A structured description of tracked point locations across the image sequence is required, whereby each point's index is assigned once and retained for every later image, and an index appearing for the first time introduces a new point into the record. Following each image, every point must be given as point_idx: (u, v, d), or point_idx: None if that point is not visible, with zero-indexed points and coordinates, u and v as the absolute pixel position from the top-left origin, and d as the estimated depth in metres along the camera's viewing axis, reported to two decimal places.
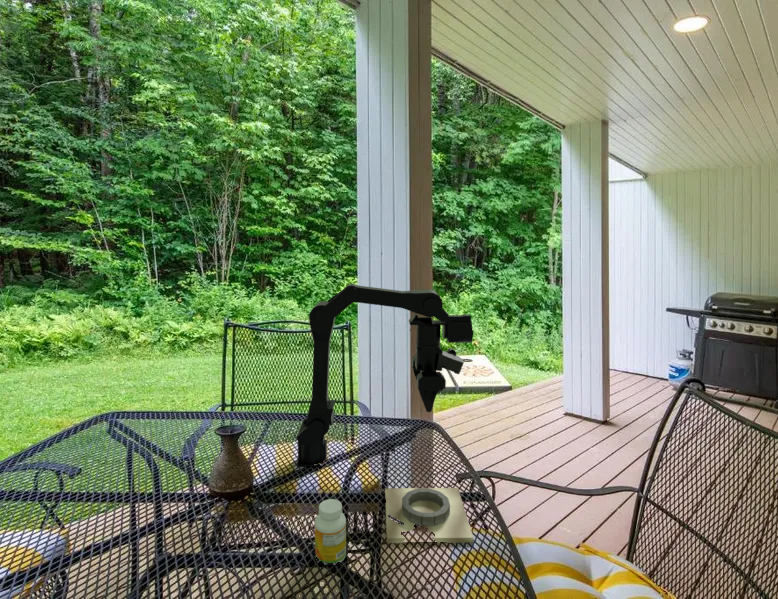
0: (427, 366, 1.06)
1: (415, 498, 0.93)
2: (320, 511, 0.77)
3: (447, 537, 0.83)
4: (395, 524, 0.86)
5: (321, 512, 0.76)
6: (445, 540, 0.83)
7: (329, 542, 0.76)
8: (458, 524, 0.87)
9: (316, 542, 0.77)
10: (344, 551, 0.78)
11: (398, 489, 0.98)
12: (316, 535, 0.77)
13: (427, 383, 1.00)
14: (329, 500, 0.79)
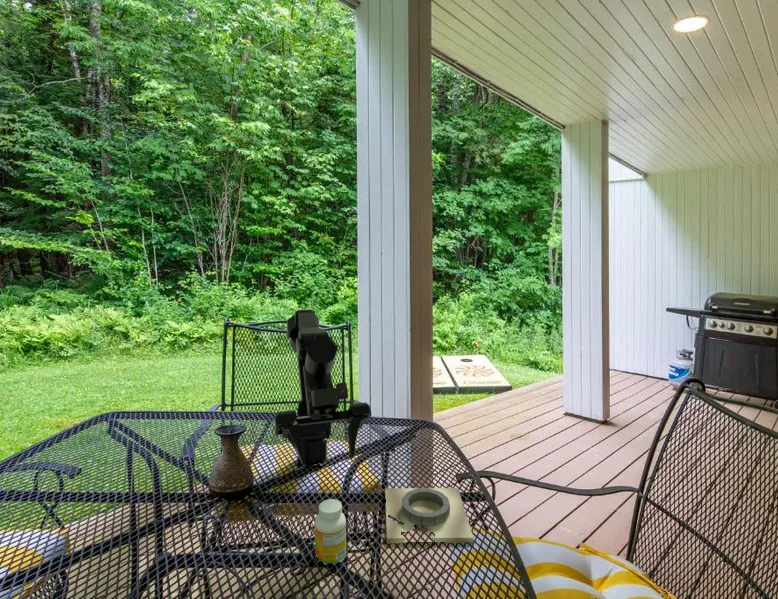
0: (307, 411, 0.90)
1: (415, 498, 0.93)
2: (320, 511, 0.77)
3: (447, 537, 0.83)
4: (395, 524, 0.86)
5: (321, 512, 0.76)
6: (445, 540, 0.83)
7: (329, 542, 0.76)
8: (458, 524, 0.87)
9: (316, 542, 0.77)
10: (344, 551, 0.78)
11: (398, 489, 0.98)
12: (316, 535, 0.77)
13: None
14: (329, 500, 0.79)
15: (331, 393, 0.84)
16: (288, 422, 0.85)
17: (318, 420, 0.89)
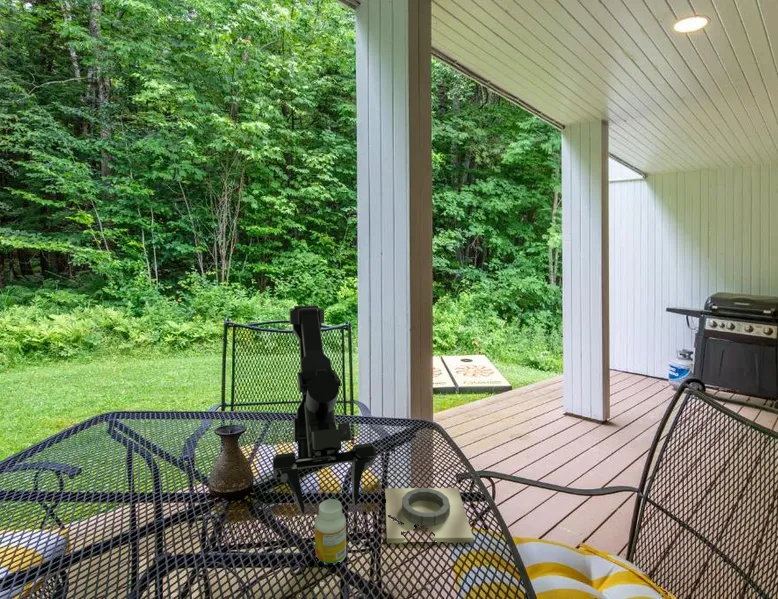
0: (308, 453, 0.84)
1: (415, 498, 0.93)
2: (320, 511, 0.77)
3: (447, 537, 0.83)
4: (395, 524, 0.86)
5: (321, 512, 0.76)
6: (445, 540, 0.83)
7: (329, 542, 0.76)
8: (458, 524, 0.87)
9: (316, 542, 0.77)
10: (344, 551, 0.78)
11: (398, 489, 0.98)
12: (316, 535, 0.77)
13: None
14: (329, 500, 0.79)
15: (332, 435, 0.78)
16: (286, 466, 0.79)
17: (319, 463, 0.83)
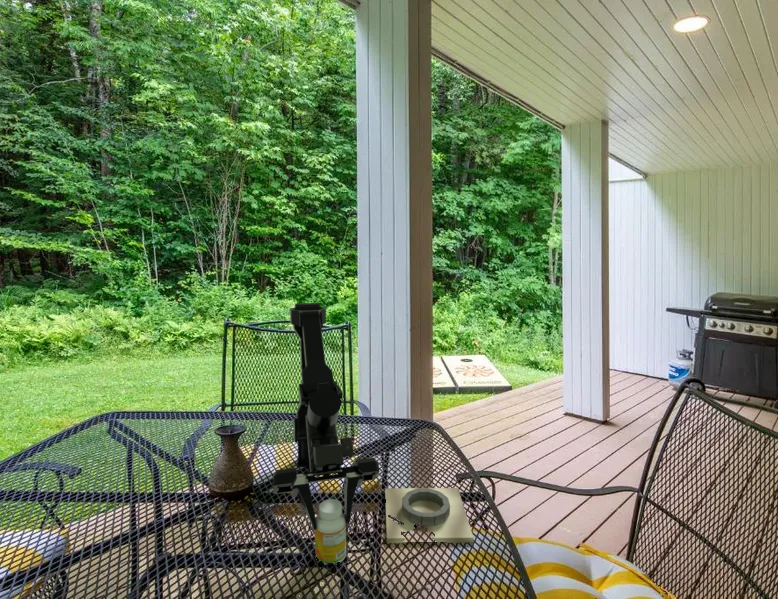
0: None
1: (415, 498, 0.93)
2: (320, 511, 0.77)
3: (447, 537, 0.83)
4: (395, 524, 0.86)
5: (321, 512, 0.76)
6: (445, 540, 0.83)
7: (329, 542, 0.76)
8: (458, 524, 0.87)
9: (316, 542, 0.77)
10: (344, 551, 0.78)
11: (398, 489, 0.98)
12: (316, 535, 0.77)
13: None
14: (329, 500, 0.79)
15: (334, 451, 0.76)
16: (287, 482, 0.77)
17: (321, 478, 0.81)
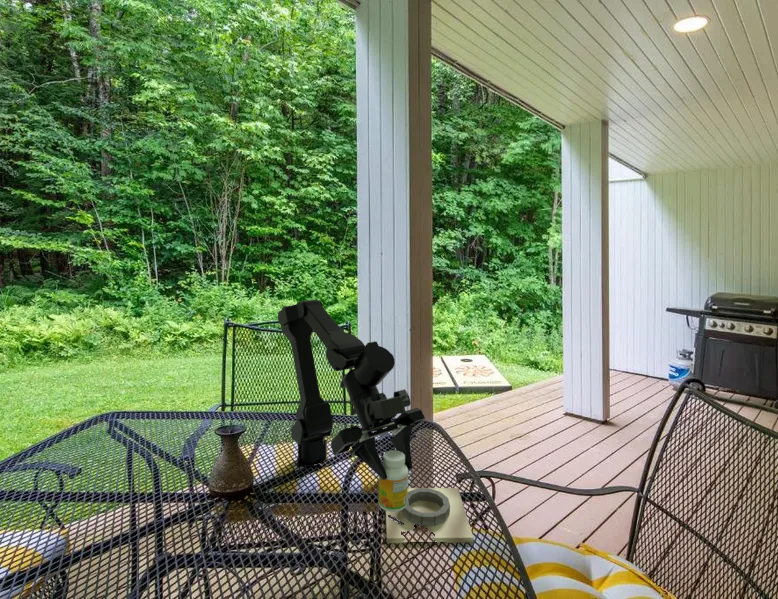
0: (362, 425, 0.85)
1: (415, 498, 0.93)
2: (388, 461, 0.80)
3: (447, 537, 0.83)
4: (395, 524, 0.86)
5: (390, 462, 0.80)
6: (445, 540, 0.83)
7: (399, 488, 0.80)
8: (458, 524, 0.87)
9: (384, 492, 0.81)
10: None
11: None
12: (384, 485, 0.81)
13: (334, 445, 0.81)
14: (389, 451, 0.83)
15: (398, 402, 0.81)
16: (356, 439, 0.79)
17: (377, 432, 0.84)
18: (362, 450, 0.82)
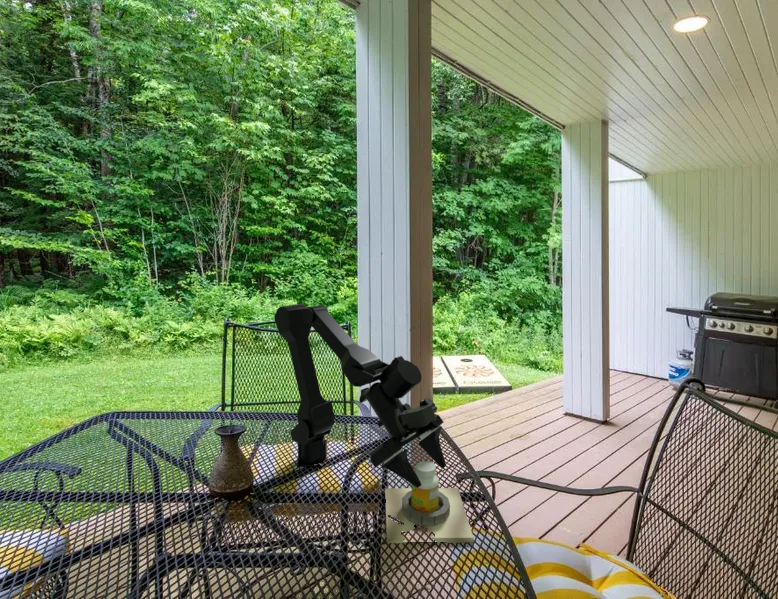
0: (393, 436, 0.90)
1: None
2: (423, 472, 0.87)
3: (447, 537, 0.83)
4: (395, 524, 0.86)
5: (425, 473, 0.87)
6: (445, 540, 0.83)
7: (434, 495, 0.88)
8: (458, 524, 0.87)
9: (420, 501, 0.88)
10: None
11: (398, 489, 0.98)
12: (421, 494, 0.87)
13: (375, 458, 0.85)
14: (419, 463, 0.90)
15: (430, 410, 0.88)
16: (398, 449, 0.84)
17: (407, 441, 0.90)
18: (393, 462, 0.86)
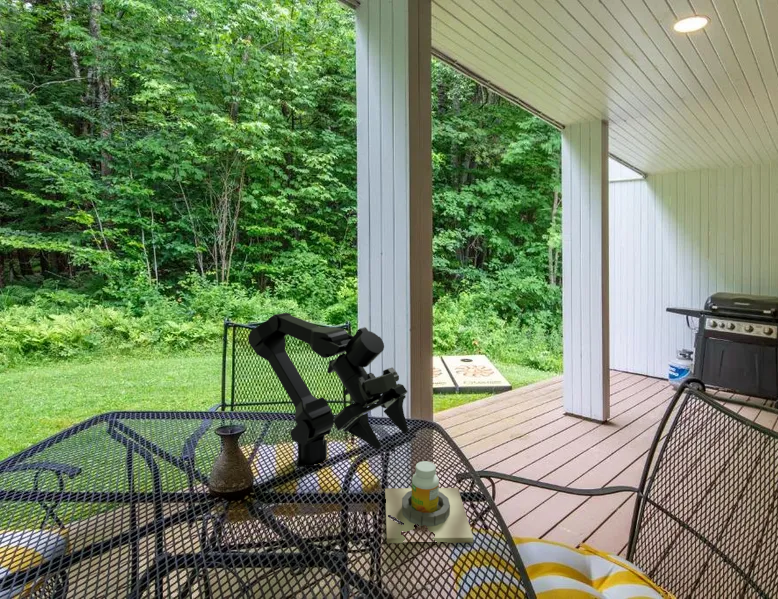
0: (357, 402, 0.95)
1: None
2: (423, 472, 0.87)
3: (447, 537, 0.83)
4: (395, 524, 0.86)
5: (425, 473, 0.87)
6: (445, 540, 0.83)
7: (434, 495, 0.88)
8: (458, 524, 0.87)
9: (420, 501, 0.88)
10: None
11: (398, 489, 0.98)
12: (421, 495, 0.87)
13: (338, 421, 0.90)
14: (419, 463, 0.90)
15: (391, 377, 0.93)
16: (360, 413, 0.89)
17: (371, 407, 0.95)
18: (355, 426, 0.92)
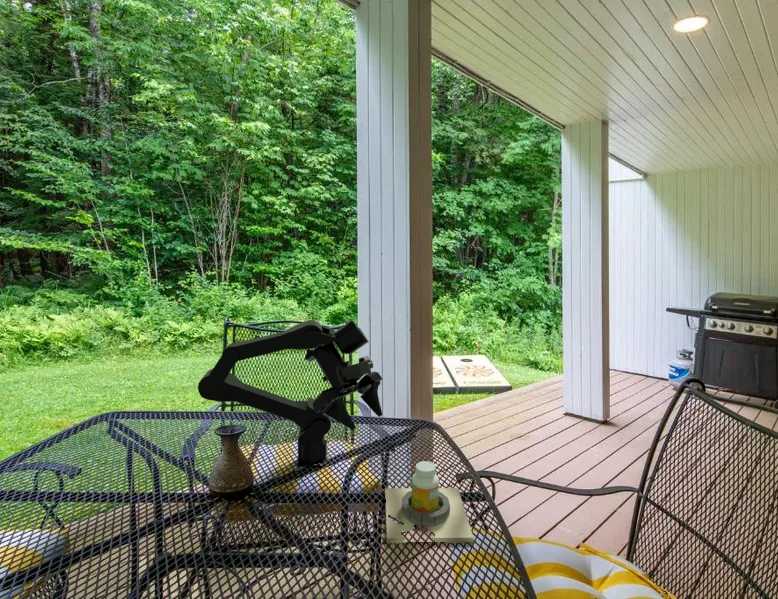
0: (335, 388, 1.03)
1: None
2: (423, 472, 0.87)
3: (447, 537, 0.83)
4: (395, 524, 0.86)
5: (425, 473, 0.87)
6: (445, 540, 0.83)
7: (434, 495, 0.88)
8: (458, 524, 0.87)
9: (420, 501, 0.88)
10: None
11: (398, 489, 0.98)
12: (421, 494, 0.87)
13: (316, 404, 0.98)
14: (419, 463, 0.90)
15: (365, 364, 1.02)
16: (336, 396, 0.97)
17: (347, 392, 1.04)
18: (332, 409, 1.00)
